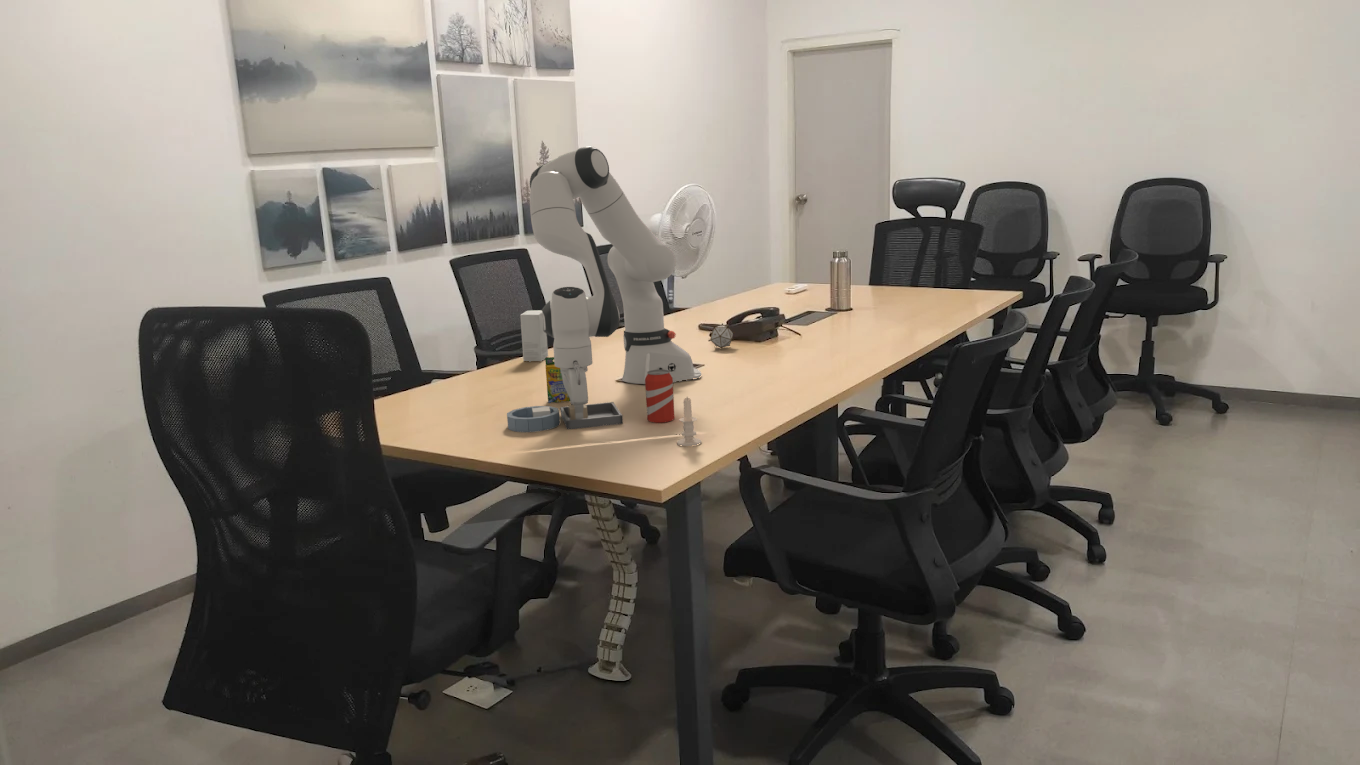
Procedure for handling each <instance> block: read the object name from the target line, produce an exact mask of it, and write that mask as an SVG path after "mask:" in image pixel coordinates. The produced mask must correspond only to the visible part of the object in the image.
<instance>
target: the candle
mask: <svg viewBox="0 0 1360 765" xmlns="http://www.w3.org/2000/svg"><path fill="white" fill-rule="evenodd" d="M697 420H698V418H697V417H694V416H693V413H692V399H691V397H684V398H683V417H680V418H679V419H678V421H679V422H680V423H681V422H682V424H683V425H682V426H683V428H682V429H683V431H681V434H680V435H681V436H682V437H683V438H681V439H678V440H677V441H676V444H677V446H679V445H682V446H692V445H697V444H699V443H701V444H702V439H700V438H695V436H696V435H697V431H696V430H694V422H695V421H697ZM682 446H681V447H682Z"/></svg>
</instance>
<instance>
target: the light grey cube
mask: <svg viewBox="0 0 1360 765" xmlns="http://www.w3.org/2000/svg"><path fill="white" fill-rule="evenodd" d="M532 414H533V417H541V416H545V415H549V414H551V413H550V408H549V407H540V408H532Z"/></svg>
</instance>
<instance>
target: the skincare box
mask: <svg viewBox="0 0 1360 765" xmlns="http://www.w3.org/2000/svg"><path fill="white" fill-rule="evenodd" d="M519 316H520V318H519V319H520V332H521V344H522V346H521V347H522V360H523V362H524V361H529V362H528V363H532V362H531V361H542V360H543V361H544V360H545V358H546V357H547V356H548V357H549V351H548V350H549V349H548V334H546V333H545V332H544V331H543V328H544V320H543V312H542V309H540V310H538V309H537V310H534V309H533V310H526V311H524V312H523V313H521V314H520V315H519ZM548 357H547V358H548ZM543 361H542V362H543Z"/></svg>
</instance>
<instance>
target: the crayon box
mask: <svg viewBox="0 0 1360 765" xmlns="http://www.w3.org/2000/svg"><path fill="white" fill-rule="evenodd" d="M544 360H545V376H546V377H545V378H546V392H547V403H548V404H552V403H551V402H555V403H562V402H561V401H568V402H570V398H569V395H568V393H567V391H566V389H565V387H564V384H563V379H562V374H561V371H560V370H561V369H560V368H558V367H556V366H555V362H554V356H552V357H549V356H548V357H547V358H545V359H544Z"/></svg>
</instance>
